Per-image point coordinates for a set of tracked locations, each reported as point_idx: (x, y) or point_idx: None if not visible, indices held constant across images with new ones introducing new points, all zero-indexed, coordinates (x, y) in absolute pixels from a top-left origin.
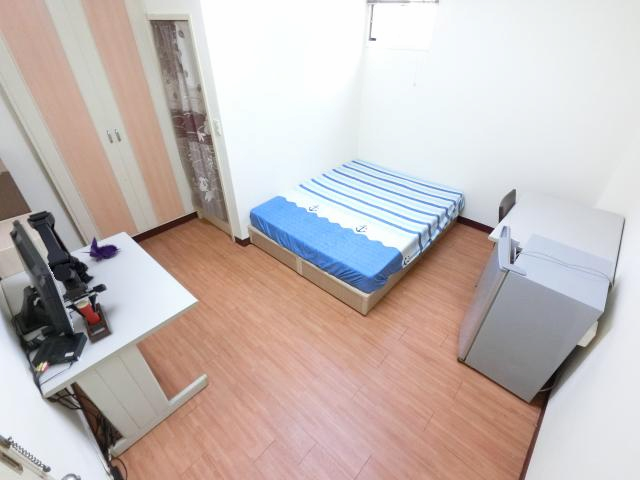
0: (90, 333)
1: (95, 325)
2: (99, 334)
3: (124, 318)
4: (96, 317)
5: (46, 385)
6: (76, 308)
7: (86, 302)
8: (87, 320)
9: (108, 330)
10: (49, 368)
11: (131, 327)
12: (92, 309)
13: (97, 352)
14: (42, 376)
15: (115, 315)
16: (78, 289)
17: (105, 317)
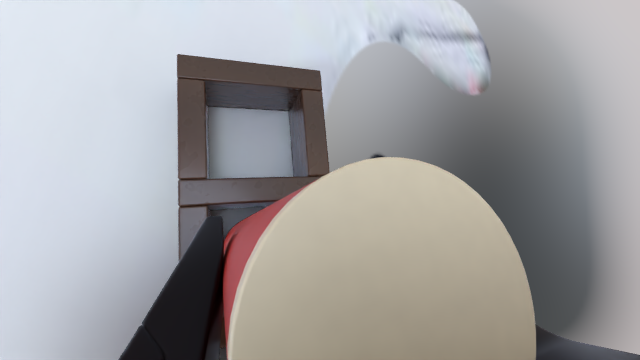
0: (307, 113)
1: (266, 177)
2: (253, 66)
3: (39, 172)
4: (237, 225)
5: (466, 18)
6: None
7: (286, 352)
8: None
9: (185, 60)
10: (467, 90)
11: (22, 29)
12: (230, 250)
13: (288, 11)
14: (482, 71)
15: (105, 262)
16: None
17: None
